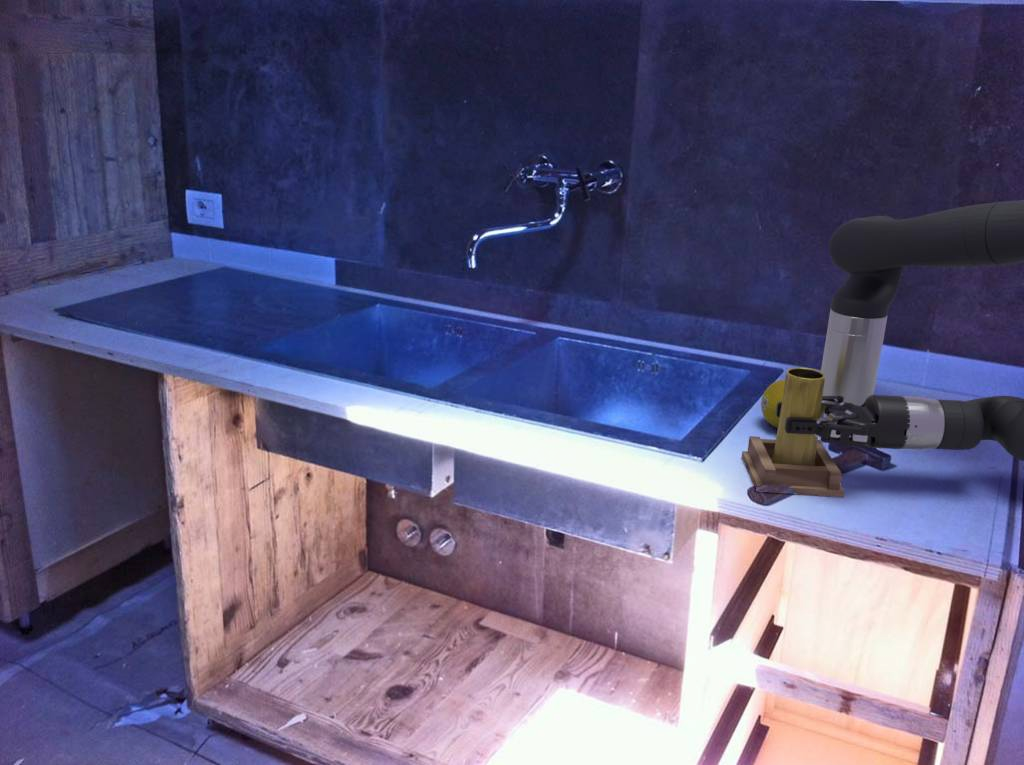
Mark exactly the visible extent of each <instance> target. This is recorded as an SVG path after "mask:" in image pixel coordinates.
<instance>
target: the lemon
mask: <svg viewBox="0 0 1024 765" xmlns="http://www.w3.org/2000/svg"><path fill="white" fill-rule="evenodd" d="M784 386H785V379H781V380H780V379H779V380H777V381H774V382H772V383H771V384H769V385H768V386H767V388H766V389H765V390H764V391H763V394H762V397H761V402H760V407H761V412H762V414H763V415H762V416H763V417H764V419H765V420H766V422H767V423H769V425H771V426H772V427H774V428H776V429H778V425H779V417H777V415H776V407H777V403H778V402H782V400H783V393H784Z"/></svg>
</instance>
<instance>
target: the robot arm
mask: <svg viewBox="0 0 1024 765" xmlns="http://www.w3.org/2000/svg"><path fill="white" fill-rule="evenodd" d="M828 253H829V256H830V259H831V260H832V262H833V263H834V264H835V266H836V267H838V269H840V270H842V271H843V272H846V273H848V274H849V275H848V278H847V279H846V281H845V282H844V283H843V284H842V286H840V287H839V288H838V289H836V290H835V292H834V293H833V295H832V297H831V298H832V299H831V303H830V311H829V317H828V322H827V323H828V324H827V330H826V336H825V342H824V343H825V344H824V349H823V356H822V362H821V368H820V372H822V373H824V374H825V382H824V389H823V396H822V403H821V411H820V418H816V419H815V421H814V419H813V418H804V417H787V418H786V420H785V428H784V429H785V431H786V432H787V433H793V434H813V436H814V437H818V438H820V441H821V442H822V443H824V444H825V443H826V444H834V445H835V444H836V445H843V446H851V447H857V448H860V447H861V448H866V447H868V448H871V449H886V450H887V449H890V450H891V449H893V450H894V449H895V450H909V451H911V450H913V451H916V450H917V451H921V450H923V451H924V450H947V451H948V450H951V451H966V450H972V449H974V448H976V447H977V446H979V444H980V443H981V441H994V442H997V443H998V444H999V445H1000V446H1001V447H1002V448H1003V449H1004V450H1005V451H1006V452H1007V453H1008V454H1009V455H1010V456H1012V457H1014V458H1015V459H1017V460H1020V461H1023V462H1024V398H1023V397H1018V396H1013V395H1012V396H1011V395H995V396H987V397H980V398H979V397H978V398H974V399H969V400H958V399H957V400H956V399H953V400H952V399H935V398H928V397H922V396H912V395H911V396H908V395H907V396H906V395H904V396H903V395H883V394H875V389H876V384H877V378H878V373H879V367H880V363H881V362H880V361H881V357H882V356H881V355H882V349H883V345H884V338H885V332H886V326H887V321H888V314H889V310H890V307H891V305H892V303H893V302H894V300H895V299H896V296H897V294H898V289H899V286H900V282H901V277H902V273H903V267H913V266H914V267H934V268H937V267H938V268H983V267H984V268H986V267H1001V266H1012V265H1019V264H1023V263H1024V199H1021V200H1008V201H1007V200H1006V201H996V202H989V203H987V202H986V203H980V204H979V203H977V204H973V205H972V204H971V205H967V206H962V207H961V206H960V207H956V208H950V209H946V210H945V209H944V210H941V211H936V212H933V213H928V214H923V215H920V216H916V217H910V218H901V219H895V218H894V217H891V216H887V215H875V216H867V217H866V216H865V217H857V218H854V219H853V218H852V219H850V220H848V221H845V222H844V223H842V224H841V225H840V226H839V227H838V228H836V229H835V230H834V232H833V233H832V235H831V236H830V240H829V242H828ZM781 406H782V402H778V403H777V407H776V415H777V417H779V418H780V412H781ZM825 415H826V416H825Z"/></svg>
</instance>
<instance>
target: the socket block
mask: <svg viewBox="0 0 1024 765" xmlns="http://www.w3.org/2000/svg"><path fill="white" fill-rule="evenodd" d="M775 442H776V438H774V439H771V438H761V437H760V436H751V435H749V436H748V445H747V451H745V450H743V451H742V452H741V459H742V461H743V464H744V466H745V468H746V470H747V473H748V475H749V477H750V481H751V482H752V486H753V487H754V486H760V485H774V484H786V485H787V484H788V485H792V486H790V487H789V488H791V489H793V490H794V491H795V493H796V494H798V496H814V497H815V496H816V497H829V498H830V497H832V498H833V497H834V498H835V497H836V498H844V496H845V489H844V487H843V485H842V484H841V482H842V476H843V473H842V471H841V470H840V468H839V467H838V466H837V465H836V462H835V461H834V459H833V458H832V457H831V455H830V453H829V451H828V450H827V449H826V447H825V445H824V444H823V442H822V441H821V439H817V448H816V457H815V466H805V465H788V464H773V463H772V457H773V453H774V448H775Z"/></svg>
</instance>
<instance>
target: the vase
mask: <svg viewBox="0 0 1024 765" xmlns="http://www.w3.org/2000/svg"><path fill="white" fill-rule="evenodd" d="M784 380H785V386H784V393H783V400H782V406H781V412H780V418H779V425H778V428H777V432H776V436H775V440H776V442H775V448H774V453H773V457H772V463H773V464H788V465H805V466H815V457H816V448H817V440H818V438H819V437H814V436H813V434H793V433H787V432H786V431H785V429H784V428H785V420H786V418H787V417H804V418H813V419H814V421H815V419H816V418H820V411H821V403H822V396H823V389H824V382H825V374H824V373H822V372H821V370H818V369H814V368H810V367H804V366H803V367H801V366H799V367H796V366H795V367H789V368H788V369H787V370H786V372H785V379H784Z"/></svg>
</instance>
